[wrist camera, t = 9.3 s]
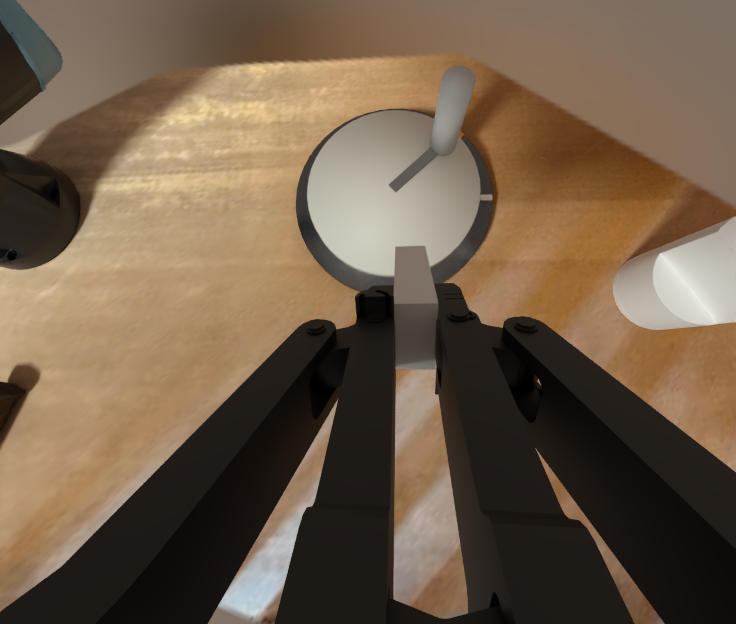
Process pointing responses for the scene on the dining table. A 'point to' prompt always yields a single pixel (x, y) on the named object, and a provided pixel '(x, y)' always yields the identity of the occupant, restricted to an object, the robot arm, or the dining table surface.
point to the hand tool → (8, 398)
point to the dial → (397, 183)
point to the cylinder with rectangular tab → (682, 281)
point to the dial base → (365, 281)
